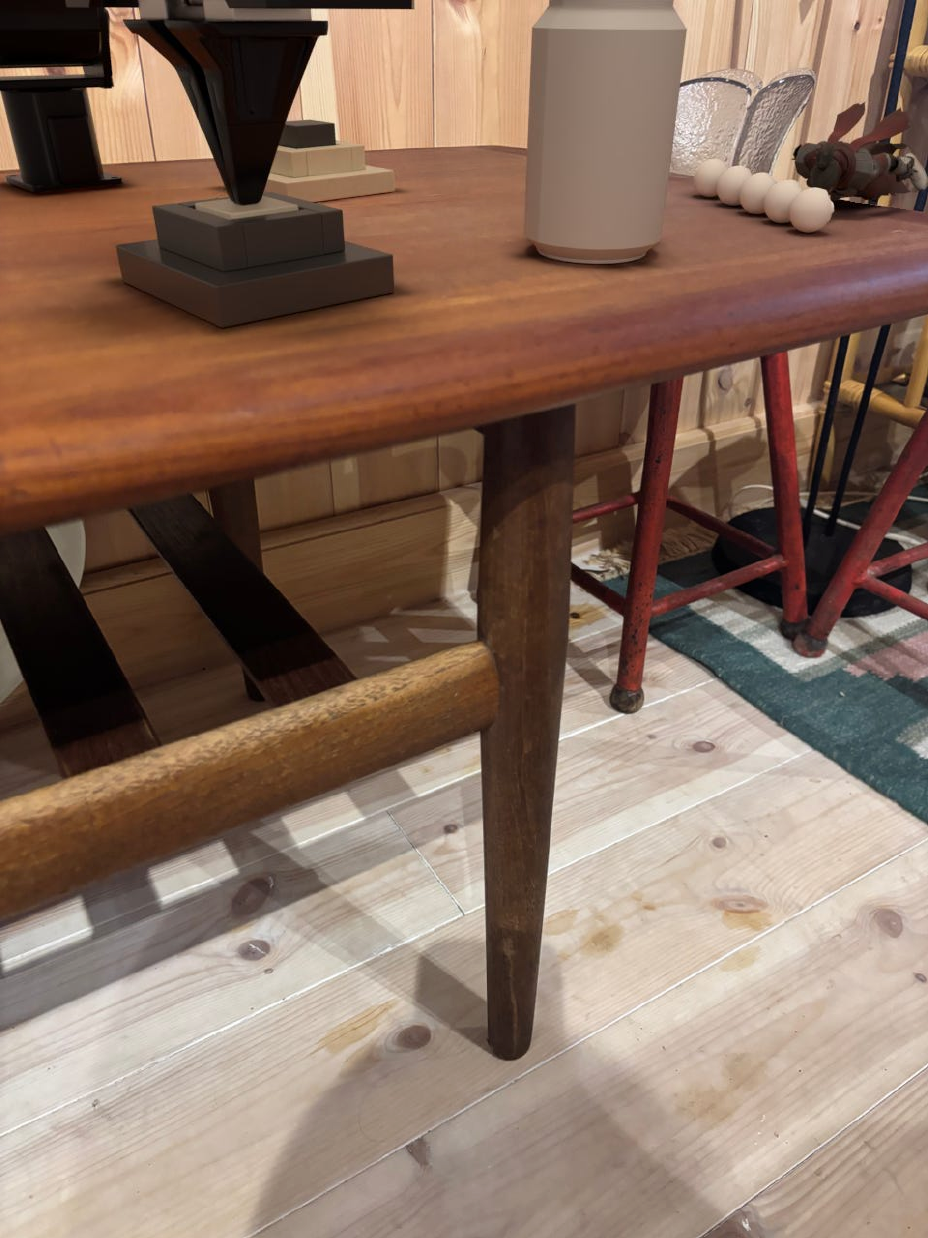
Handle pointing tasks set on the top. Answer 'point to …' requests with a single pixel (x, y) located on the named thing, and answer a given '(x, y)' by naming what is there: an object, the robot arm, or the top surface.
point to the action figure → (860, 160)
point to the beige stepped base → (326, 173)
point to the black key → (308, 134)
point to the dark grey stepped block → (253, 262)
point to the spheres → (765, 195)
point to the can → (601, 127)
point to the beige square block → (244, 208)
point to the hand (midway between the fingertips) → (246, 203)
